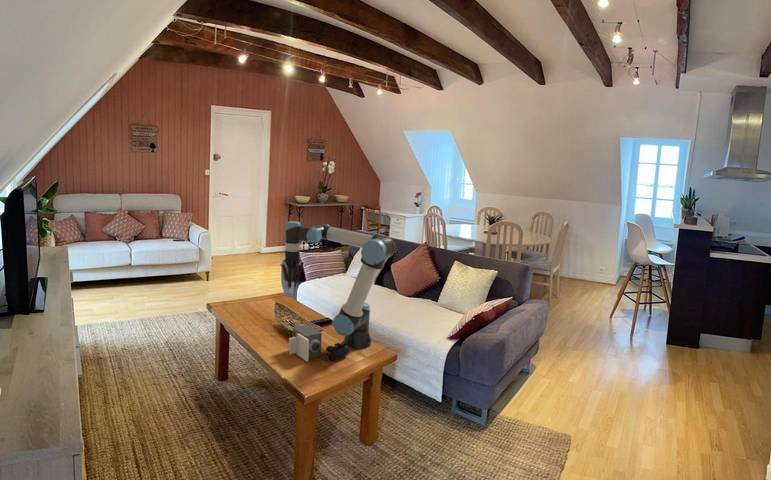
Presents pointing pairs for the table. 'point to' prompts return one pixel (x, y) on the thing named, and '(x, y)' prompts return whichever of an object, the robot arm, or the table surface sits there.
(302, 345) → the side door
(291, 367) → the table surface
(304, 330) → the camera housing
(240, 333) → the table surface
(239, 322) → the table surface
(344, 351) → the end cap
